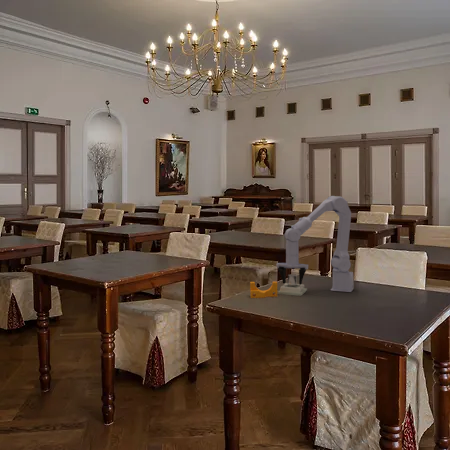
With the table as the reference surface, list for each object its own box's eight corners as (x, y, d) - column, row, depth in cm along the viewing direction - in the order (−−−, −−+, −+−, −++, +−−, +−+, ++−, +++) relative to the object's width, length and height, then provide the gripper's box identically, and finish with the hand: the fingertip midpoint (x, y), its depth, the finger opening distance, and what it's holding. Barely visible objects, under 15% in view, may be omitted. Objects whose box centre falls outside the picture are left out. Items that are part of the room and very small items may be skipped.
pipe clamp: (250, 298, 218) (250, 283, 217) (250, 295, 222) (250, 281, 222) (277, 297, 218) (277, 283, 217) (276, 295, 222) (276, 281, 222)
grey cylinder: (297, 289, 228) (297, 274, 228) (295, 291, 225) (295, 276, 224) (288, 288, 230) (288, 274, 229) (287, 290, 226) (287, 275, 225)
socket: (306, 290, 230) (306, 284, 230) (301, 295, 220) (301, 289, 220) (284, 288, 235) (284, 282, 234) (277, 293, 224) (277, 287, 224)
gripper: (274, 255, 225) (274, 284, 226) (305, 256, 219) (305, 286, 221) (278, 252, 231) (279, 281, 233) (309, 254, 226) (309, 283, 227)
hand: (292, 283), depth 227 cm, fingers open, 7 cm apart
